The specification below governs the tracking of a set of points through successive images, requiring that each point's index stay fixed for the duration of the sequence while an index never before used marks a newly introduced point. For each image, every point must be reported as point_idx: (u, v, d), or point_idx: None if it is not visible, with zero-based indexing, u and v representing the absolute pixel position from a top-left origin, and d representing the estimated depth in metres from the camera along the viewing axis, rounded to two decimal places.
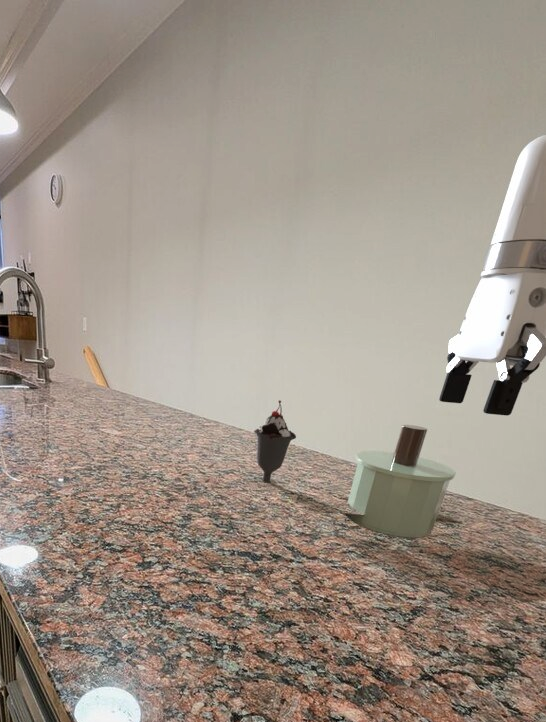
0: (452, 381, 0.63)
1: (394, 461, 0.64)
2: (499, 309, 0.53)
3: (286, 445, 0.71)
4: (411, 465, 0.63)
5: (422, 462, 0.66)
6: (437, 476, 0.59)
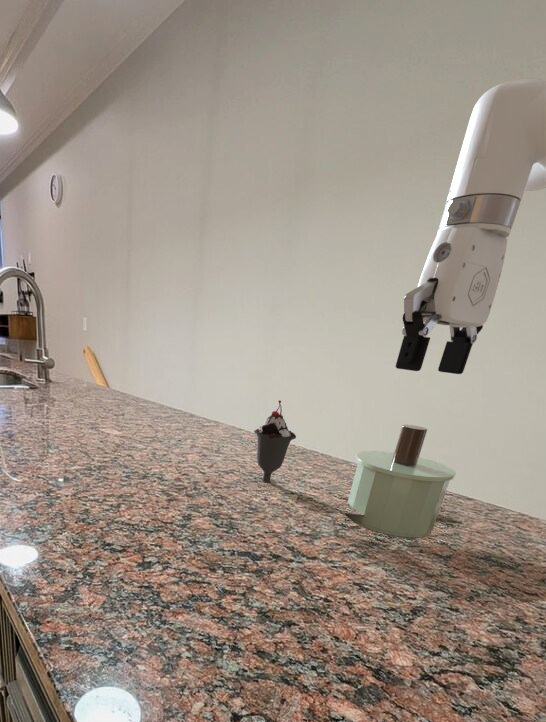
0: (448, 350, 0.61)
1: (394, 461, 0.64)
2: None
3: (286, 445, 0.71)
4: (411, 465, 0.63)
5: (422, 462, 0.66)
6: (437, 476, 0.59)
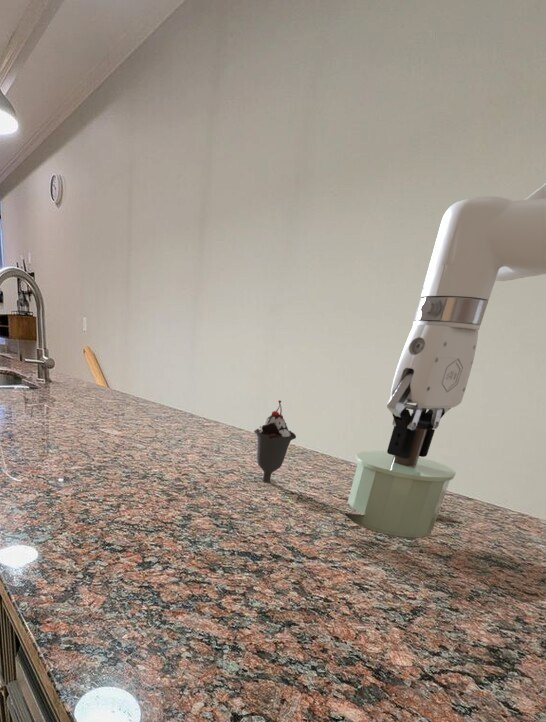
0: None
1: (394, 461, 0.64)
2: None
3: (286, 445, 0.71)
4: (411, 465, 0.63)
5: (422, 462, 0.66)
6: (437, 476, 0.59)
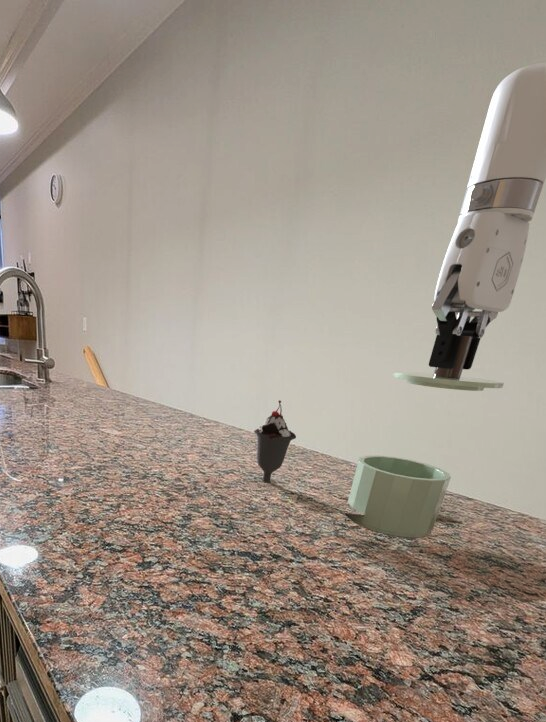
0: None
1: (436, 375, 0.60)
2: None
3: (286, 445, 0.71)
4: (455, 377, 0.59)
5: None
6: (486, 382, 0.55)
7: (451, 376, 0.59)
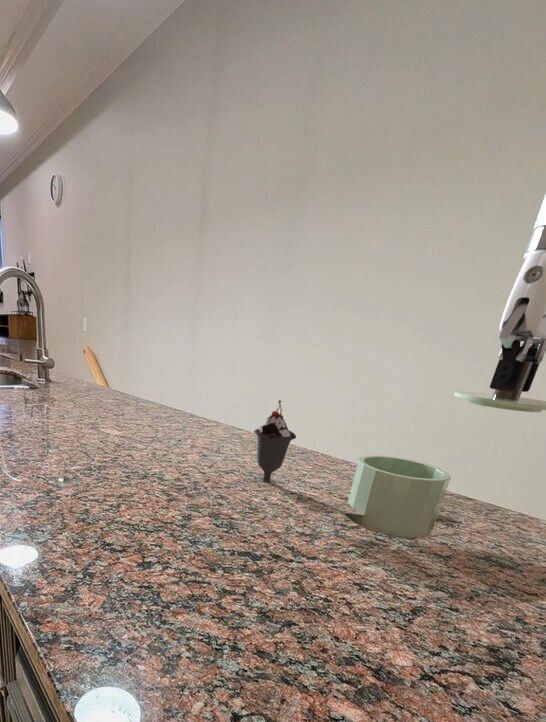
0: None
1: (496, 396, 0.65)
2: None
3: (286, 445, 0.71)
4: (515, 398, 0.64)
5: (521, 398, 0.67)
6: None
7: (511, 398, 0.64)
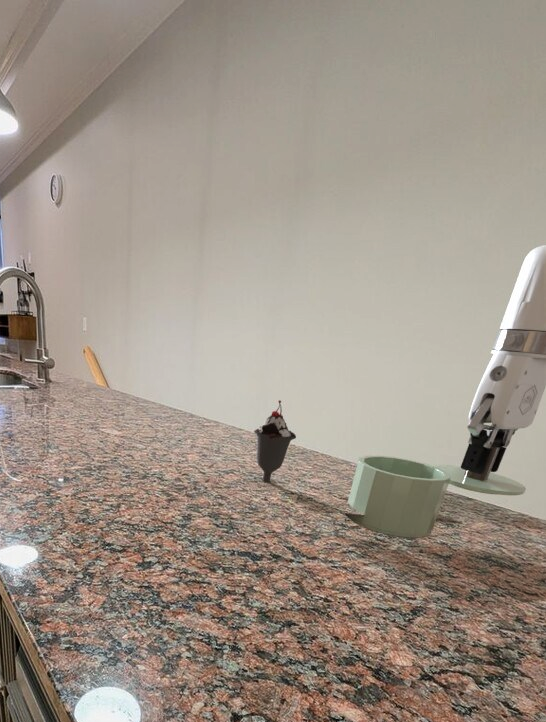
0: None
1: (467, 475, 0.70)
2: None
3: (286, 445, 0.71)
4: (483, 479, 0.69)
5: (491, 476, 0.72)
6: (511, 490, 0.65)
7: (480, 479, 0.69)
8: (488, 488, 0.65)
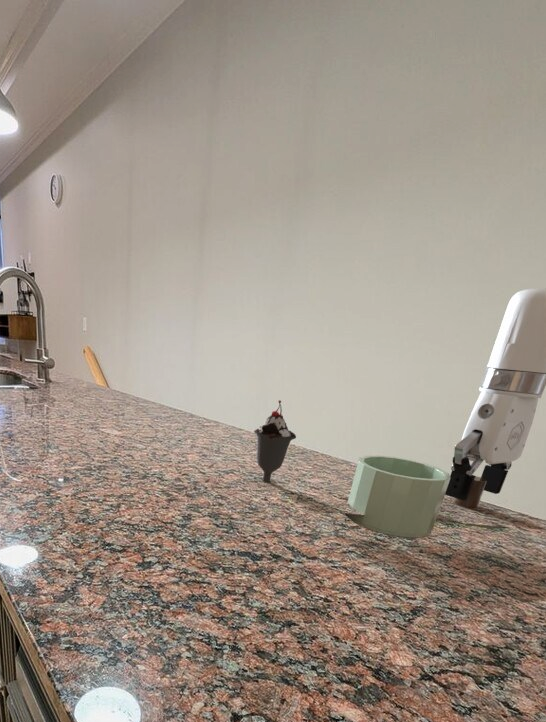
0: (486, 472, 0.73)
1: None
2: None
3: (286, 445, 0.71)
4: None
5: None
6: None
7: None
8: None
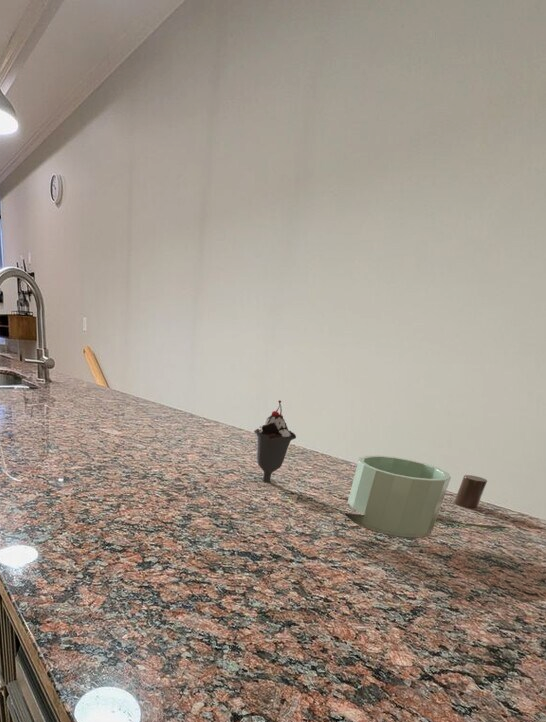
0: None
1: None
2: None
3: (286, 445, 0.71)
4: None
5: None
6: None
7: None
8: None
